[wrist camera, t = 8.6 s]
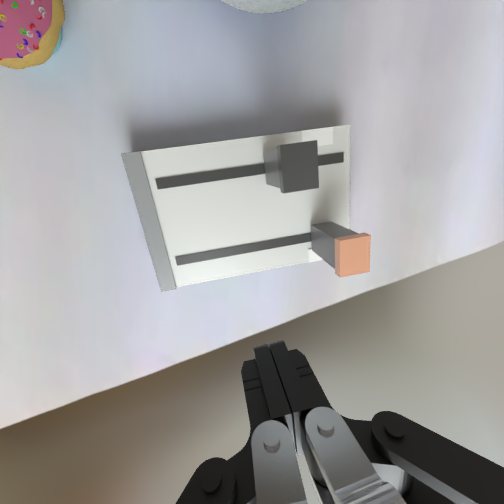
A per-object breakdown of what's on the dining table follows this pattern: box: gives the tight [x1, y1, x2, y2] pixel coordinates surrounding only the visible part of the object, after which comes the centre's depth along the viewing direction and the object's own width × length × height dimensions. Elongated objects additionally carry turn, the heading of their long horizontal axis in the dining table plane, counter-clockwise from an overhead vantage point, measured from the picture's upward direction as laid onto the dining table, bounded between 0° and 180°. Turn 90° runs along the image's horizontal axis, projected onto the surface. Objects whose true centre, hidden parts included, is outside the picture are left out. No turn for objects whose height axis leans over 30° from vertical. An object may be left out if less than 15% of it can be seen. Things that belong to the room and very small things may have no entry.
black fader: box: [263, 140, 319, 193], centre depth 22 cm, size 3×3×7 cm
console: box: [121, 125, 350, 292], centre depth 27 cm, size 14×22×3 cm, turn 97°
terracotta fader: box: [311, 221, 371, 277], centre depth 25 cm, size 3×3×7 cm
